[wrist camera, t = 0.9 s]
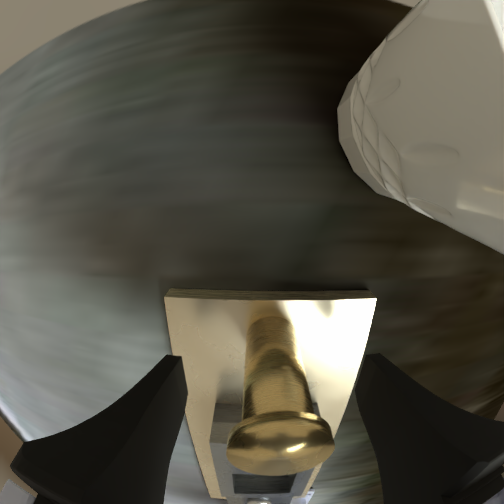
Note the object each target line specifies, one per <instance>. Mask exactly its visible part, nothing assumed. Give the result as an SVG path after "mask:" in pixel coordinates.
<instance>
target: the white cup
mask: <svg viewBox="0 0 504 504" xmlns="http://www.w3.org/2000/svg"><path fill="white" fill-rule="evenodd" d="M337 114H338V131H339V142H340V144H341V146H342V148H343V150H344V152H345V154H346V156H347V158H348V161H349V163H350V165H351V167H352V169H353V171H354V172H355V173H356V174H357V175H358V176H359V177H360V178H361V179H362V180H363V181H365V182H366V183H367V184H368V185H369V186H370V187H371V188H372V189H373V190H374V191H375V192H376V193H378V194H381V195H384V196H387V197H390V198H393V199H396V200H398V201H400V202H403V203H405V204H406V205H408V206H409V207H411V208H412V209H413V210H415V211H417V212H420V213H422V214H424V215H426V216H428V217H430V218H432V219H434V220H437V221H439V222H442V223H444V224H445V225H447V226H449V227H451V228H452V229H454V230H456V231H458V232H460V233H462V234H464V235H467V236H469V237H471V238H473V239H475V240H477V241H479V242H481V243H483V244H485V245H487V246H489V247H491V248H493V249H494V250H496V251H498V252H500V253H502V254H504V0H421V1H420V2H419V3H418V4H417V5H416V6H415V7H414V8H413V9H412V10H411V11H410V12H409V13H408V14H407V15H406V16H405V17H404V18H403V19H402V20H401V21H400V22H399V23H398V24H397V25H396V26H395V27H394V28H393V29H392V31H391V32H390V33H389V34H388V35H387V36H386V38H385V39H384V40H383V42H382V43H381V44H380V45H379V46H378V47H377V48H376V49H375V51H374V52H373V53H372V54H371V55H370V56H369V58H368V59H367V61H366V62H365V63H364V65H363V66H362V68H361V70H360V71H359V72H358V73H357V74H356V75H355V76H354V77H353V78H352V79H351V80H350V82H349V83H348V85H347V87H346V89H345V92H344V94H343V96H342V99H341V101H340V103H339V105H338V108H337Z"/></svg>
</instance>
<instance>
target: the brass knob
mask: <svg viewBox="0 0 504 504" xmlns="http://www.w3.org/2000/svg"><path fill="white" fill-rule="evenodd" d="M334 448H335V444H334V440H333V435H332V431H331V427H330V425H329V424H328V422H327V421H326V420H324V419H323V418H321V417H319V416H317V415H315V414H314V410H313V405H312V400H311V396H310V391H309V386H308V382H307V377H306V373H305V368H304V364H303V359H302V355H301V351H300V346H299V342H298V338H297V333H296V330H295V328H294V326H293V324H292V323H291V322H289V321H288V320H286V319H284V318H282V317H278V316H267V317H263V318H260V319H258V320H257V321H255V322H254V323H253V324H252V325H251V326H250V327H249V329H248V331H247V334H246V351H245V369H244V388H243V407H242V421H241V422H240V423H238V424H237V425H235V426H234V427H233V428H232V429H231V431H230V432H229V434H228V439H227V450H226V456H227V459H228V461H229V462H230V463H231V464H232V465H233V466H235V467H237V468H238V469H240V470H243V471H245V472H248V473H252V474H257V475H266V476H280V475H289V474H295V473H299V472H303V471H306V470H309V469H311V468H313V467H315V466H317V465H319V464H321V463H322V462H324V461H325V460H326V459H328V458H329V457H330V455H331V454H332V453H333V451H334Z"/></svg>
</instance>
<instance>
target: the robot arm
mask: <svg viewBox="0 0 504 504" xmlns="http://www.w3.org/2000/svg"><path fill="white" fill-rule="evenodd" d="M355 393H356V398H357V403H358V407H359V411H360V413H361V416H362V419H363V422H364V424H365V427H366V430H367V432H368V435H369V437H370V440H371V443H372V446H373V448H374V451H375V454H376V458H377V462H378V467H379V471H380V477H381V483H382V490H383V499H384V504H504V478H503V477H502V475H501V474H502V473H503V472H504V467H503V466H502V465H503V464H504V422H501V421H495V420H492V419H488V418H484V417H481V416H478V415H475V414H473V413H470V412H468V411H465V410H463V409H460V408H458V407H456V406H454V405H452V404H450V403H448V402H447V401H445V400H443V399H441V398H440V397H438V396H436V395H435V394H433V393H432V392H430V391H429V390H427V389H426V388H424V387H423V386H421V385H420V384H419V383H417V382H416V381H415V380H413V379H412V378H411V377H409V376H408V375H407V374H405V373H404V372H403V371H402V370H400V369H399V368H398V367H397V366H395V365H394V364H393V363H392V362H390V361H389V360H388V359H386V358H385V357H384V356H382V355H381V354H380V353H378V354H370V355H366V357H365V360H364V364H363V367H362V370H361V373H360V376H359V379H358V382H357V385H356V388H355ZM187 396H188V388H187V383H186V378H185V372H184V367H183V361H182V356H175V355H166V356H165V357H164V358H163V359H162V360H161V361H160V362H159V363H158V364H157V365H156V366H155V367H154V368H153V369H152V370H151V371H150V372H149V373H148V374H147V375H146V376H145V377H143V378H142V379H141V380H140V381H139V382H138V383H137V384H136V385H135V386H134V387H133V388H132V389H130V390H129V391H128V392H127V393H126V394H124V395H123V396H122V397H121V398H119V399H118V400H117V401H116V402H114V403H113V404H112V405H110V406H109V407H107V408H106V409H105V410H103V411H101V412H100V413H98V414H97V415H95V416H93V417H92V418H90V419H88V420H86V421H84V422H82V423H80V424H78V425H76V426H74V427H72V428H70V429H67V430H65V431H62V432H60V433H57V434H54V435H51V436H48V437H44V438H41V439H37V440H32V441H28V442H24V443H23V445H22V447H21V448H20V450H19V452H18V453H17V455H16V456H15V458H14V460H13V461H12V463H11V465H10V467H11V469H12V471H13V472H14V473H15V474H16V475H17V476H18V477H19V478H20V479H21V480H23V481H24V482H25V483H26V484H27V485H29V486H30V487H31V488H32V489H33V490H35V491H36V492H37V493H38V495H37V497H36V498H35V497H34V496H32V495H31V494H29V493H28V492H27V491H25V490H24V489H22V488H21V487H19V486H18V485H17V484H15V483H14V482H12V481H11V480H10V479H8V480H7V482H6V484H5V486H4V488H3V490H2V491H1V493H0V504H163V503H164V495H165V487H166V480H167V474H168V468H169V463H170V459H171V455H172V452H173V449H174V446H175V443H176V439H177V436H178V433H179V430H180V427H181V423H182V420H183V417H184V414H185V408H186V403H187ZM313 494H314V489H309V491H308V493H307V495H306V496H305V498H292V500H291V502H290V504H307V503H308V502H309V500H310V498H311V497H312V495H313Z"/></svg>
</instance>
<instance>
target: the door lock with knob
mask: <svg viewBox="0 0 504 504" xmlns="http://www.w3.org/2000/svg"><path fill="white" fill-rule="evenodd" d="M376 299H377V298H376V297H375V296H374V295H373V294H372V293H371V292H370V290H352V291H236V290H202V289H177V288H170V289H169V290H168V292H167V293H166V295H165V296H164V300H165V308H166V315H167V322H168V328H169V335H170V341H171V347H172V352H173V355H175V356H182V361H183V367H184V372H185V378H186V383H187V388H188V396H187V403H186V408H185V414H186V418H187V422H188V425H189V429H190V433H191V437H192V440H193V444H194V447H195V451H196V454H197V458H198V461H199V464H200V467H201V470H202V474H203V477H204V480H205V483H206V486H207V488H208V491H209V494H210V497H211V498H220V499H226V500H227V504H290V502H291V500H292V498H305V496H306V495H307V493H308V491H309V489H310V487H311V485H312V483H313V481H314V480H315V478H316V476H317V474H318V472H319V470H320V467H321V465H322V463H323V462H322V463H321V464H319V465H317V466H315V467H313V468H311V469H309V470H306V471H303V472H299V473H295V474H289V475H280V476H266V475H257V474H252V473H248V472H245V471H243V470H240V469H238V468H237V467H235V466H233V465H232V464H231V463H230V462H229V461H228V459H227V456H226V450H227V439H228V434H229V432H230V431H231V429H232V428H233V427H234V426H235V425H237V424H238V423H240V422H241V421H242V407H243V388H244V369H245V351H246V334H247V331H248V329H249V327H250V326H251V325H252V324H253V323H254V322H255V321H257V320H258V319H260V318H263V317H267V316H278V317H282V318H284V319H286V320H288V321H289V322H291V323H292V324H293V326H294V328H295V330H296V333H297V338H298V342H299V346H300V351H301V355H302V359H303V364H304V368H305V373H306V377H307V382H308V386H309V391H310V396H311V400H312V405H313V410H314V414H315V415H317V416H319V417H321V418H323V419H324V420H326V421H327V422H328V424H329V425H330V427H331V431H332V435H333V439H334V436H335V434H336V431H337V429H338V427H339V424H340V421H341V419H342V416H343V414H344V411H345V408H346V406H347V403H348V400H349V397H350V394H351V391H352V388H353V385H354V382H355V379H356V376H357V373H358V370H359V366H360V363H361V359H362V356H363V352H364V349H365V345H366V341H367V338H368V334H369V330H370V326H371V321H372V317H373V313H374V308H375V303H376Z"/></svg>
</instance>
